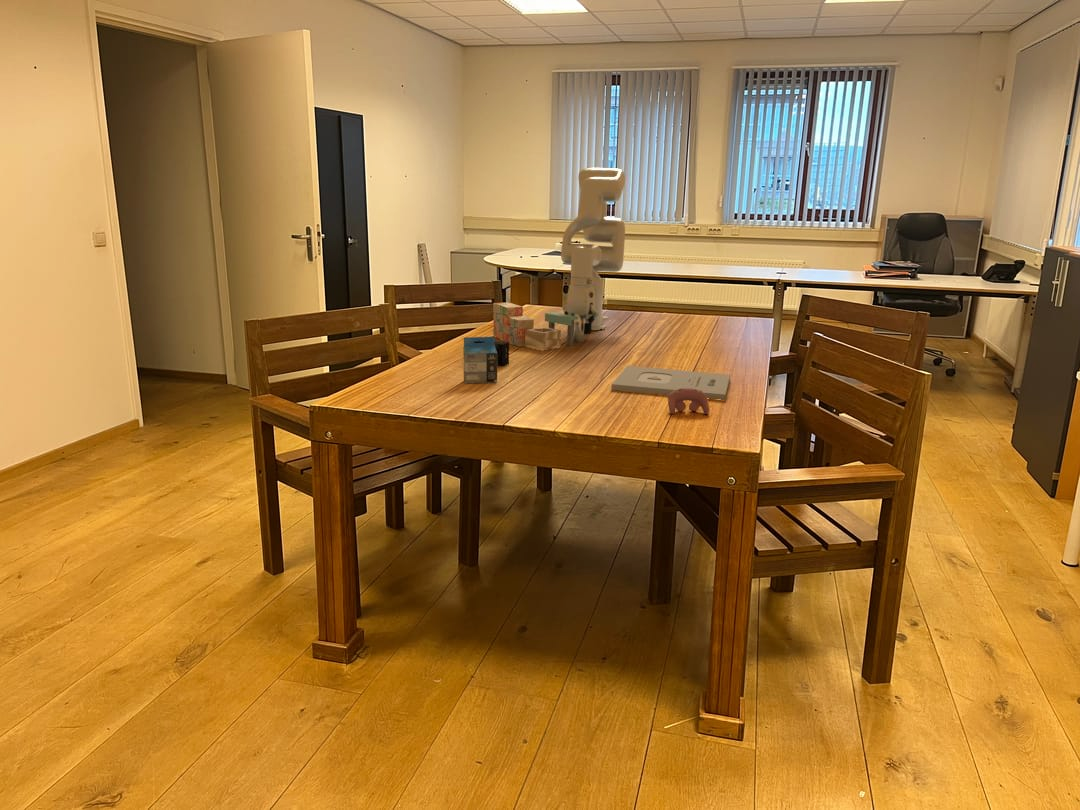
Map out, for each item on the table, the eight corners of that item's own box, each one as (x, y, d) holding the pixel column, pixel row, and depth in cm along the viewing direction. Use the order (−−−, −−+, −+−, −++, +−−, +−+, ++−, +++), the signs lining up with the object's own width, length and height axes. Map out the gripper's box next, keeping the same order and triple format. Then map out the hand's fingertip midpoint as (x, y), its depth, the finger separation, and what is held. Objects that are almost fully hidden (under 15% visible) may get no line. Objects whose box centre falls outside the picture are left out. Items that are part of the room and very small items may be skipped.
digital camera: (470, 363, 237) (470, 341, 236) (479, 360, 242) (479, 338, 240) (500, 367, 233) (500, 344, 231) (508, 364, 238) (509, 342, 236)
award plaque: (724, 402, 202) (725, 394, 202) (611, 392, 210) (611, 383, 210) (729, 381, 225) (730, 374, 225) (627, 372, 233) (627, 365, 232)
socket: (543, 344, 270) (543, 327, 269) (560, 347, 265) (560, 330, 263) (525, 347, 264) (525, 329, 262) (541, 351, 259) (542, 333, 257)
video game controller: (706, 417, 192) (705, 390, 194) (710, 414, 188) (709, 386, 189) (666, 417, 192) (665, 389, 193) (670, 413, 187) (669, 385, 189)
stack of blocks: (533, 346, 267) (534, 310, 264) (516, 347, 264) (517, 311, 261) (508, 335, 286) (509, 301, 282) (492, 336, 283) (493, 302, 280)
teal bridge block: (552, 340, 278) (552, 312, 275) (577, 345, 270) (578, 316, 267) (544, 341, 275) (545, 313, 273) (569, 346, 267) (570, 317, 265)
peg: (578, 339, 280) (579, 312, 277) (586, 341, 277) (588, 313, 275) (570, 341, 277) (571, 313, 274) (579, 342, 274) (580, 314, 272)
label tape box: (465, 384, 212) (465, 339, 209) (463, 380, 216) (463, 337, 213) (497, 383, 215) (497, 339, 211) (494, 379, 218) (494, 336, 215)
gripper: (607, 283, 268) (604, 334, 273) (570, 279, 280) (568, 328, 285) (593, 285, 263) (590, 337, 268) (555, 280, 275) (554, 330, 280)
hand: (579, 332), depth 276 cm, fingers open, 7 cm apart
